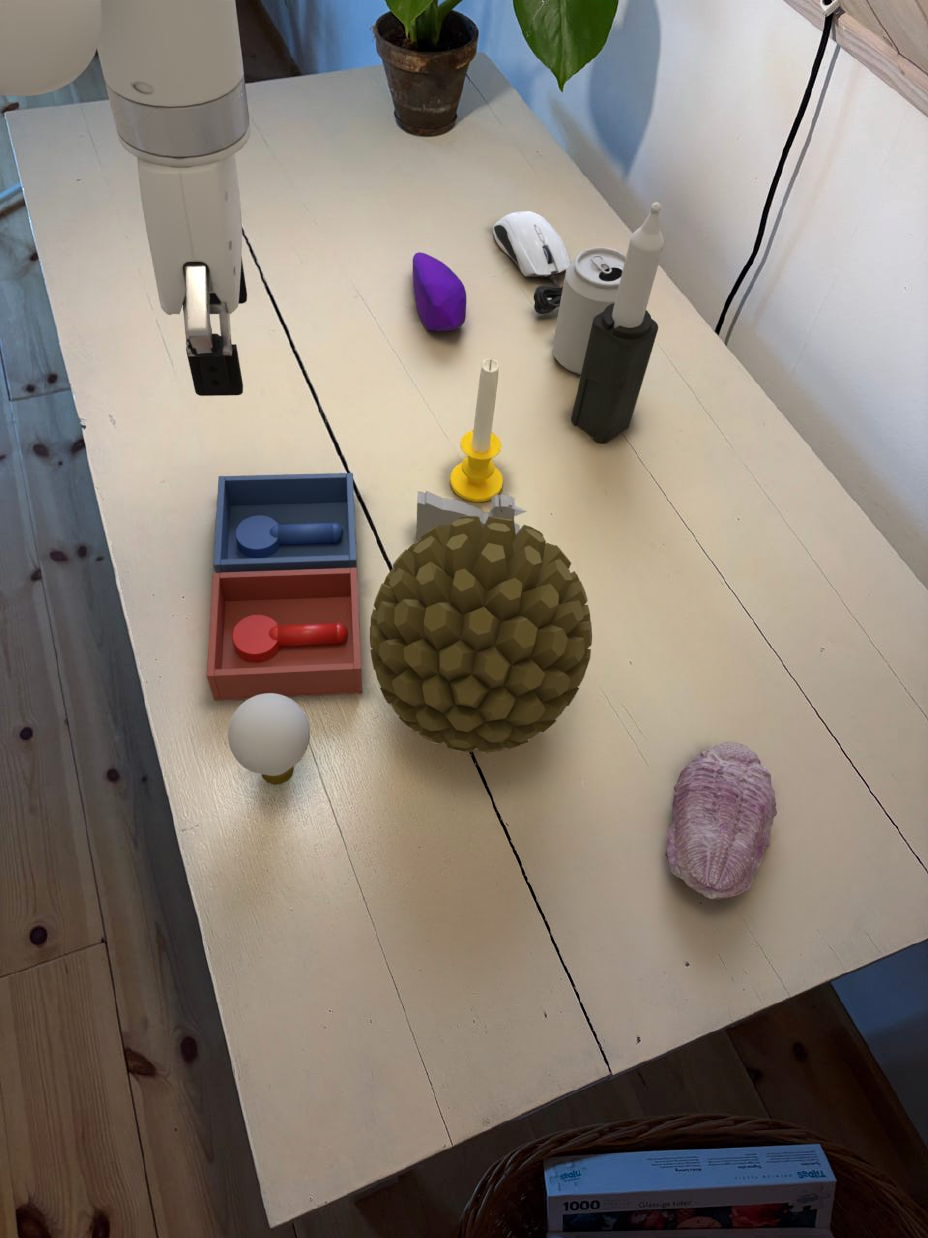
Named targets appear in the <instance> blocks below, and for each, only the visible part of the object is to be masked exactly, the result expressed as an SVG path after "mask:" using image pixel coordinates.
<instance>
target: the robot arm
mask: <svg viewBox="0 0 928 1238" xmlns="http://www.w3.org/2000/svg"><path fill="white" fill-rule="evenodd" d="M236 5H237V4H236V0H0V96H8V97H9V96H11V97H31V96H40V95H45V94H49V93H52V92H55V91H58V90H61V89H63V88H64V87H65V86H68V85H69V84H72V82H74V81H75V80H77V79H78V78H79V77H80V75H82V74H83V72H84V71H85V70H86V69H87V68H88V66H89V65H90V64H91V63H92V60H93V58H94V57H95V55H96V52H97V54H98V60H99V62H100V67H101V71H102V76H103V78H104V83H105V88H106V92H107V96H108V101H109V105H110V108H111V112H112V117H113V121H114V125H115V130H116V134H117V137H118V141H119V143H120V145H121V146H122V147H123V148H124V149H125V150H126V151H127V152H128V153H129V154H131V155H133V156H134V157H135V158H136V161H137V172H138V174H137V175H138V183H139V190H140V198H141V206H142V212H143V218H144V224H145V230H146V235H147V242H148V247H149V252H150V256H151V262H152V268H153V273H154V278H155V284H156V288H157V294H158V301H159V305H160V308H161V310H162V311H163V312H164V313H165V314H166V315H168V316H172V315H180V314H181V311H183V322H184V324H183V325H184V334H185V336H184V337H185V343H186V344H185V345H186V346H185V351H186V356H187V360H188V366H189V370H190V375H191V379H192V383H193V388H194V392H195V394H196V395H197V396H199V397H205V396H206V397H217V396H218V397H219V396H220V397H221V396H222V397H224V396H227V397H228V396H241V395H242V394H243V393H244V383H243V377H242V370H241V363H240V359H239V351H238V346H237V343H235V344H234V343H233V342H232V330H231V329H232V328H231V319H230V318H231V316H230V315H231V314H233V313H234V312H235V311H236V310H237V309H238V307H239V305H243V304H246V303H247V301H248V290H247V283H246V275H245V270H244V264H243V223H242V222H243V221H242V220H243V219H242V207H241V206H242V205H241V195H240V187H239V178H238V170H237V162H236V156H235V155H236V154H237V152H239V151H241V150H242V149H243V148H244V147H245V144H247V142H248V141H249V139H250V136H251V129H252V128H251V122H250V111H249V103H248V97H247V87H246V79H245V72H244V63H243V55H242V47H241V39H240V30H239V22H238V21H239V20H238V14H237V6H236ZM211 315H218V316H219V317H218V319H219V330H220V334H219V333H213V328H212V324H211Z"/></svg>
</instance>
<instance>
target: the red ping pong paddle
mask: <svg viewBox="0 0 928 1238" xmlns="http://www.w3.org/2000/svg"><path fill="white" fill-rule="evenodd" d="M347 637H348V630H347V628H346V626H345V625H343V624H341V623H323V624H301V625H279V626H278V624H277V623H276V622H275V621H274V620H273V619H272V618H270V617H268V616H265V615H251V616H248V617H245V618H243V619H242V620H240V621H239V622H238V623H237V624H236V626H235V627H234V629H233V632H232V640H233V644H234V648H235V651H236V653H237V654H238V655H239V656H240V657H241V658H242V659H244V660H246V661H249V662H263V661H266V660H269V659H270V658H272V657H273V656H275V655H276V654H277V652H278V651H279V649H280V647H282V646H303V645H324V644H340V643H343V642H344V641H345V640H346V639H347Z"/></svg>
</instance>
